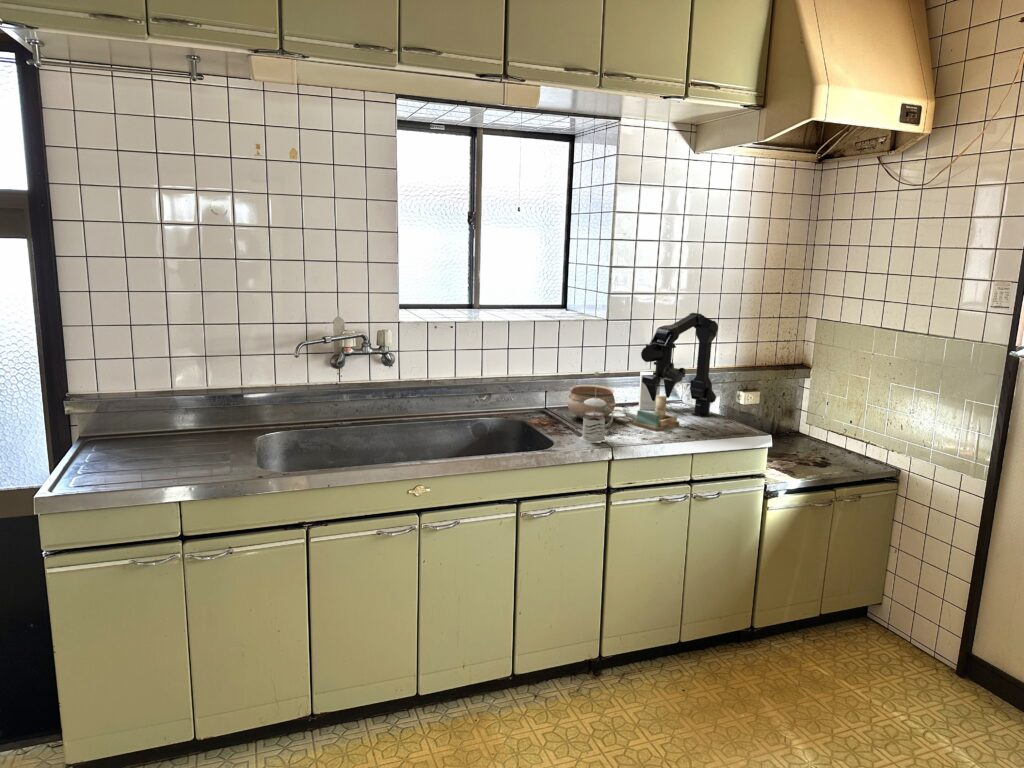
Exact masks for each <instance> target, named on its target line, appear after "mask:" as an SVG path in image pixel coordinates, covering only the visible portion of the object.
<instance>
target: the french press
mask: <svg viewBox="0 0 1024 768" xmlns="http://www.w3.org/2000/svg"><path fill="white" fill-rule="evenodd" d="M593 375H594V376H596V377H595V378H596V379H595V385H598V383H597V382H598V381H597V380H598V376H600V372H599V371H594V373H593ZM584 404H585V405H588V406H594V407H601V406H605V405H606V402H605V401H603V400H601V399H599V398H596V392H595V398H590V399H587V400H585V401H584ZM605 407H606V408H608V409H610V408H609V407H607V406H605ZM605 411H606V409H605ZM610 411H611V418H610V420H609V421H608V423H607V424H606V418H605V417H603V416H604V413H602V412H595V409H594V411H588V412H585V413H584V414H585V415H586V416H584V417H583V421H582V436H580V437H579V439H581V440H583V441H588V442H594V441H601V440H605V439H606V438H605V434H606V428H607V427H609V426H610V425H612V423H613V422H614V421H613V420H614V412H613V411H612V410H611V409H610ZM591 418H597V419H599V420H590V419H591ZM581 440H580V441H581Z"/></svg>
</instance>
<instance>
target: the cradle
mask: <svg viewBox="0 0 1024 768" xmlns="http://www.w3.org/2000/svg"><path fill="white" fill-rule="evenodd" d="M636 412H637V413H636V420H635V421H632V424H631V425H632V426H634V427H639V428H642V429H645V430H648V431H649V430H650V431H652V432H658V431H661V430H665V429H669V428H672V427H676V426H679V425H680V421H677V420H678V417H677V416H673V415H669V414H666V413H665V419H663V420H660V415H659V414H655V411H653V412H650V411H648V410H640V409H639V410H637V411H636Z"/></svg>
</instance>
